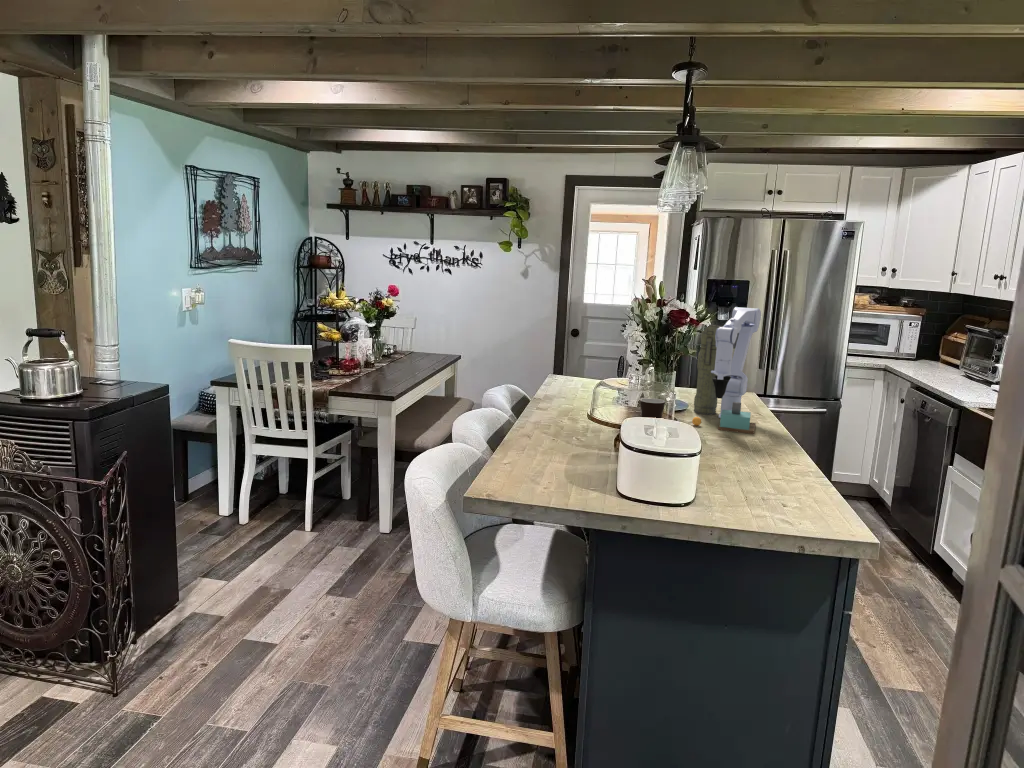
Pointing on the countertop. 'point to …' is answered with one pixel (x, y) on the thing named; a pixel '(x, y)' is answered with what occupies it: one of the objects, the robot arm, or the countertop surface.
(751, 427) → the walnut board
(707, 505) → the countertop surface
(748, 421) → the cover
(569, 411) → the countertop surface
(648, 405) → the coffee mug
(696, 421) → the ball
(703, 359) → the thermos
